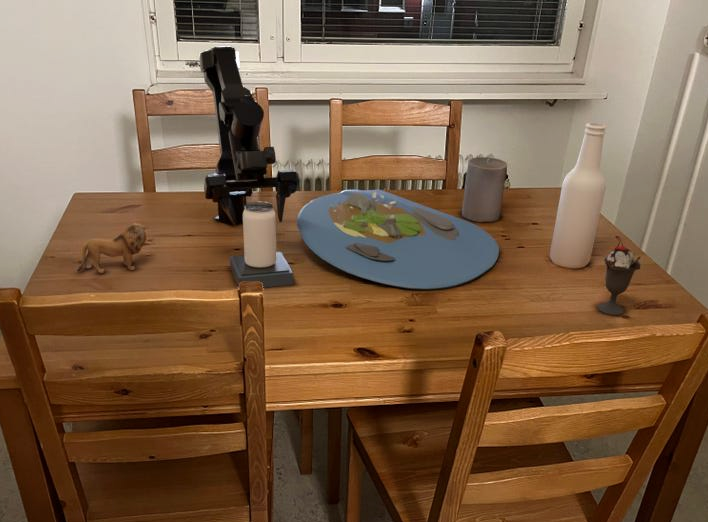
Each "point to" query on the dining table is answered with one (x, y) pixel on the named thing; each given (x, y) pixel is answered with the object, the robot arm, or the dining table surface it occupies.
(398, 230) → the serving platter
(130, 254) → the lion figurine
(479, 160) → the pillar candle
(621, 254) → the sundae
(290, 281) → the riser
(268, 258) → the can
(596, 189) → the alcohol
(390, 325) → the dining table surface
